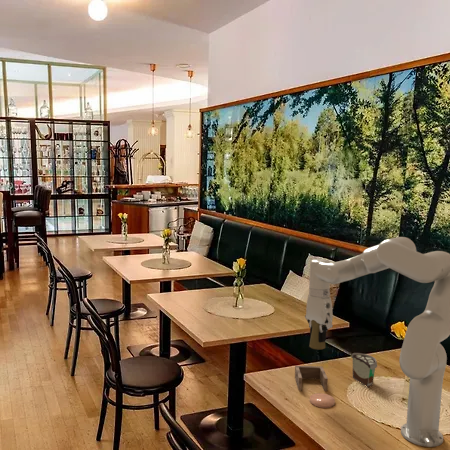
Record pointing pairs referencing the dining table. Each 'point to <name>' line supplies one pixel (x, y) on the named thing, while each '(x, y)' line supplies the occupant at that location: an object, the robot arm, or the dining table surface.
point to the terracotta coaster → (322, 400)
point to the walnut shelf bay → (310, 375)
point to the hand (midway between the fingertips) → (317, 339)
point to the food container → (364, 368)
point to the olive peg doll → (316, 336)
